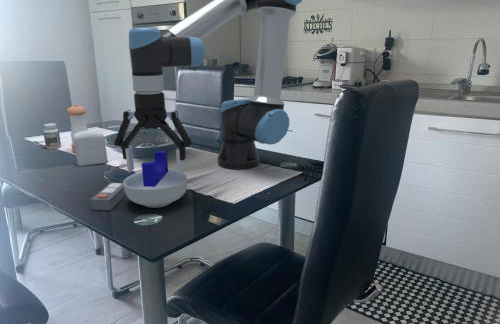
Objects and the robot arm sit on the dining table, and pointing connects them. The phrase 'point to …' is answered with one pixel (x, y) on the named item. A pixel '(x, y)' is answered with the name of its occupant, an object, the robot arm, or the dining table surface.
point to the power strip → (108, 197)
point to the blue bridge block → (155, 169)
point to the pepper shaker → (77, 121)
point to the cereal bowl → (156, 189)
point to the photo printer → (90, 147)
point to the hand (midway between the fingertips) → (155, 171)
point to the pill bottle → (51, 136)
